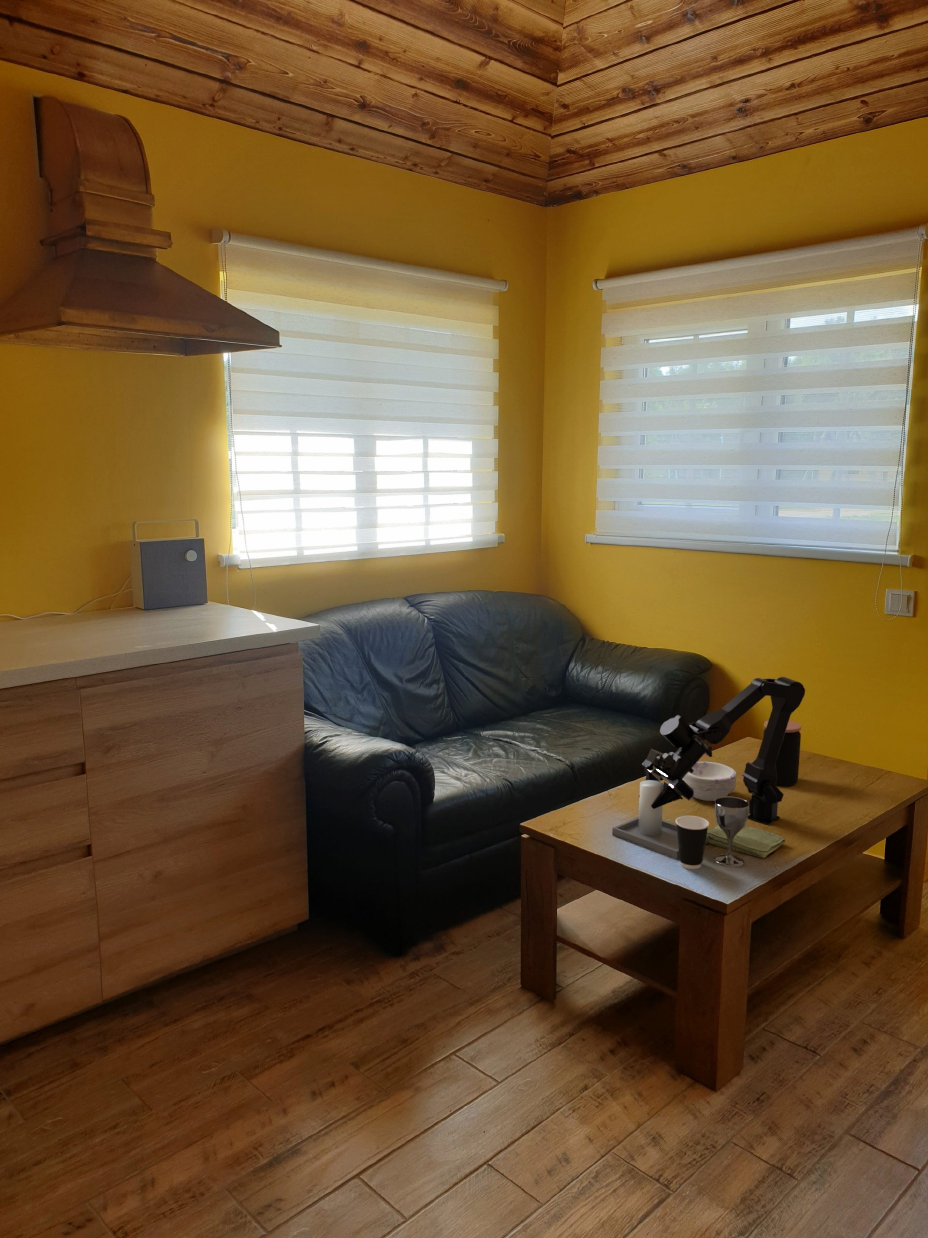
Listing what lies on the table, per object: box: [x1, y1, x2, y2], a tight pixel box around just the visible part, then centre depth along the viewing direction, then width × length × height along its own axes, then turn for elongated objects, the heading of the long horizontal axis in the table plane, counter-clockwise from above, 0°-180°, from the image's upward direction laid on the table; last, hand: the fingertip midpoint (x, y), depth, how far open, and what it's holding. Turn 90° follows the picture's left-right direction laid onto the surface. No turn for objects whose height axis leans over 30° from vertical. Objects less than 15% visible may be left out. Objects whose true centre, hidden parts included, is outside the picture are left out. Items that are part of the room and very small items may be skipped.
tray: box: [611, 816, 709, 860], centre depth 238 cm, size 20×14×2 cm
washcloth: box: [707, 824, 786, 859], centre depth 236 cm, size 13×18×3 cm
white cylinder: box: [638, 779, 664, 836], centre depth 241 cm, size 6×6×13 cm
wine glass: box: [713, 795, 750, 868], centre depth 225 cm, size 8×8×15 cm
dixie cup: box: [675, 815, 710, 870], centre depth 223 cm, size 8×8×11 cm
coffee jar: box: [762, 719, 802, 788], centre depth 279 cm, size 11×11×18 cm
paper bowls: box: [682, 761, 737, 802], centre depth 268 cm, size 15×15×8 cm
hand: (646, 803), depth 240 cm, fingers open, 7 cm apart
